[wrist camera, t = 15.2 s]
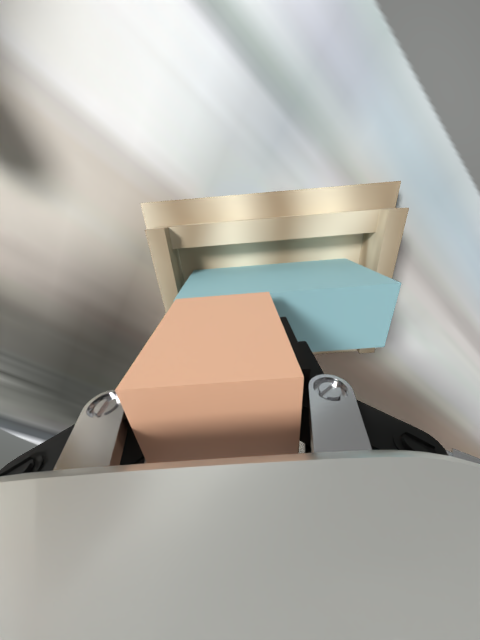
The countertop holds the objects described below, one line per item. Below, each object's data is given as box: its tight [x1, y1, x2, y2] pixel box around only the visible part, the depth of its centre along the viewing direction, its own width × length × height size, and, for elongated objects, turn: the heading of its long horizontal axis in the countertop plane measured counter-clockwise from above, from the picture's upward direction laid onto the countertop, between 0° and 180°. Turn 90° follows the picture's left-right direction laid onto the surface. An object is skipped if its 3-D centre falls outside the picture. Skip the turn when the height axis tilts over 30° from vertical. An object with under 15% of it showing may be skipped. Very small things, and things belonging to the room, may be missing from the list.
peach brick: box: [115, 292, 304, 463], centre depth 9 cm, size 4×5×6 cm
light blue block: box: [173, 258, 401, 352], centre depth 15 cm, size 12×4×6 cm, turn 94°
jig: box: [140, 181, 409, 354], centre depth 18 cm, size 18×14×4 cm
